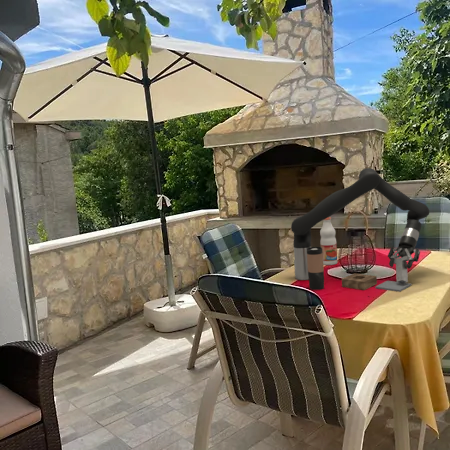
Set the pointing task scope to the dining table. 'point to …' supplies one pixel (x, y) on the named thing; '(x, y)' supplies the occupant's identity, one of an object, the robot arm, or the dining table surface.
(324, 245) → the fruit juice
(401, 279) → the t key
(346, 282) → the socket block
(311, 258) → the travel mug
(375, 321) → the dining table surface
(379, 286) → the grey mat
